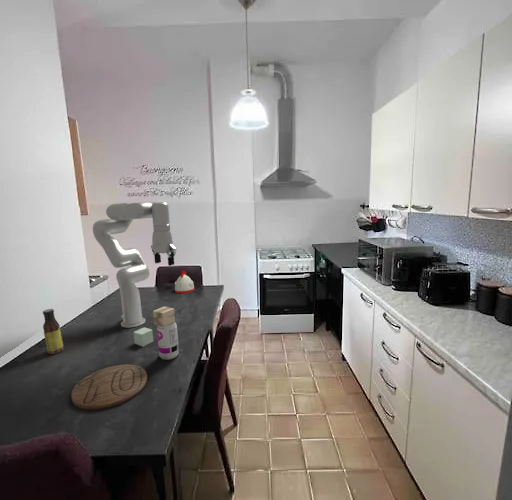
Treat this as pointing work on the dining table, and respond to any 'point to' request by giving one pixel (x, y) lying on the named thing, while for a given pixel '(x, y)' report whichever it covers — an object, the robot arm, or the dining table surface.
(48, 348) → the sauce bottle
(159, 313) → the beech cube
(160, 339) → the supplement can
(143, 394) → the dining table surface
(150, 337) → the sage cube
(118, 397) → the trivet
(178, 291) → the white and red dome
